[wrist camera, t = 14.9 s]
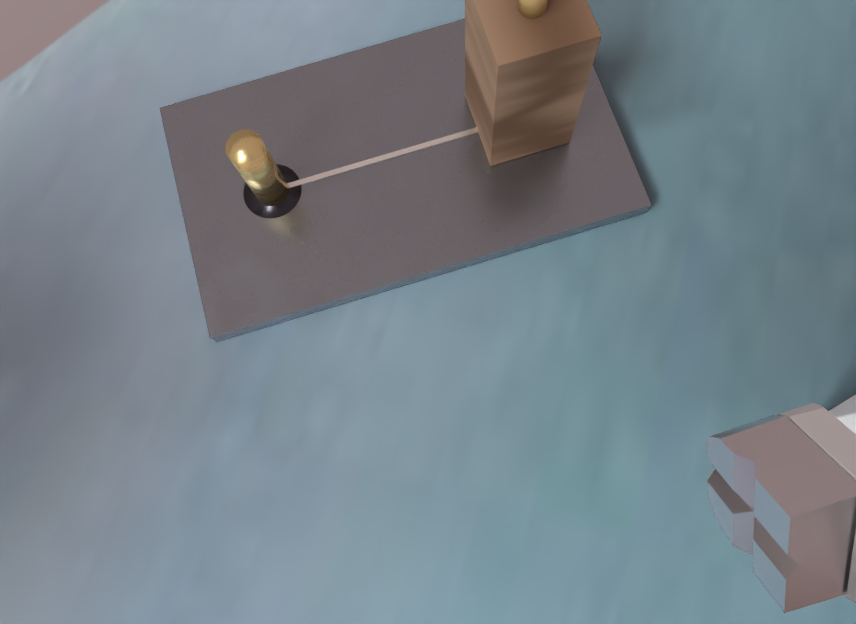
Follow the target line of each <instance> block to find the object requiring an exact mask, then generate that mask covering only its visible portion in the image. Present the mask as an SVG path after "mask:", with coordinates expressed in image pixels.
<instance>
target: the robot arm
mask: <svg viewBox="0 0 856 624" xmlns="http://www.w3.org/2000/svg"><path fill="white" fill-rule="evenodd" d="M706 448H707V459H708V460H709V461H710V462H711V464H712V465H713V466H714V467H715V470H714V471H713V473H712V474H711V476H710V477H709V479H708V480H707V487H708V499H709V502H710V505H711V508H712V511H713V514H714V517H715V519H716V520H717V522H718V524H719V526H720V528H721V529H722V531H723V533H724V534H725V535H726V537H727V538H728V539H729V541H730V542H731V544H732V545H733V546H734V547H737V548H739V549H741V550H743V551H745V552H748V553H750V554H752V555H753V573H754V574H755V575H756V577H757V578H758V579H759V581H760V582H761V583H762V585H763V586H764V587H765V589H766V590H767V591H768V592H769V594H770V595H771V596H772V598H773V599H774V600H775V602H776V603H777V604H778V606H779V607H780V608H781V609H782V611H783V612H784V613H786V612H789V611H793V610H796V609H799V608H802V607H806V606H809V605H812V604H816V603H819V602H822V601H825V600H829V599H832V598H835V597H838V596H842V595H845V594H847V596H846V598H848V599H849V600H851V601H853V602H855V603H856V434H855V433H854V432H852V431H851V430H850V429H849V428H848V427H846V426H845V425H844V424H843V423H842V422H841V421H839V420H838V419H837V418H836V417H835V416H833V415H832V414H831V413H830V412H829V411H827V410H826V409H825V408H824V407H823V406H821V405H818V404H815V403H810V404H807V405H804V406H801V407H798V408H795V409H792V410H788V411H785V412H782V413H779V414H778V415H772V416H769V417H766V418H763V419H760V420H757V421H754V422H751V423H748V424H745V425H742V426H739V427H736V428H733V429H730V430H727V431H724V432H721V433H718V434H715V435H712V436H710V437H709V440H708V442H707V444H706Z"/></svg>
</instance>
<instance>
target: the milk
mask: <svg viewBox="0 0 856 624" xmlns="http://www.w3.org/2000/svg"><path fill="white" fill-rule="evenodd" d="M829 412H830V413H831V414H832V415H833V416H835V417H836V418H837V419H838V420H839V421H841V422H842V423H843V424H844V425H845V426H846V427H848V428H849V429H850V430H851V431H852V432H854V433H855V434H856V394H855V395H854V396H852V397H851V398H849V399H847V400H846V401H844V402H842V403H841V404H839V405H838V406H836V407H834V408H833V409H831V410H829Z"/></svg>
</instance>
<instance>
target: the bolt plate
mask: <svg viewBox="0 0 856 624" xmlns="http://www.w3.org/2000/svg"><path fill="white" fill-rule="evenodd" d="M160 112H161V116H162V121H163V126H164V130H165V135H166V139H167V144H168V148H169V153H170V157H171V162H172V167H173V171H174V176H175V180H176V185H177V189H178V194H179V199H180V203H181V208H182V212H183V217H184V221H185V226H186V231H187V235H188V240H189V244H190V249H191V253H192V258H193V263H194V267H195V272H196V276H197V281H198V285H199V290H200V295H201V299H202V304H203V308H204V313H205V317H206V322H207V327H208V331H209V336H210V338H211V339H213V340H214V341H216V342H218V341H221V340H225V339H228V338H231V337H235V336H238V335H241V334H245V333H248V332H251V331H254V330H258V329H261V328H264V327H268V326H271V325H274V324H278V323H281V322H284V321H288V320H291V319H294V318H298V317H301V316H304V315H308V314H311V313H314V312H318V311H321V310H324V309H328V308H331V307H334V306H337V305H341V304H344V303H347V302H351V301H354V300H357V299H361V298H364V297H367V296H371V295H374V294H377V293H381V292H384V291H387V290H391V289H394V288H397V287H401V286H404V285H407V284H410V283H414V282H417V281H420V280H424V279H427V278H430V277H434V276H437V275H440V274H444V273H447V272H450V271H454V270H457V269H460V268H464V267H467V266H470V265H474V264H477V263H480V262H484V261H487V260H490V259H493V258H497V257H500V256H503V255H507V254H510V253H513V252H517V251H520V250H523V249H527V248H530V247H533V246H537V245H540V244H543V243H547V242H550V241H553V240H557V239H560V238H563V237H567V236H570V235H573V234H576V233H580V232H583V231H586V230H590V229H593V228H596V227H600V226H603V225H606V224H610V223H613V222H616V221H620V220H623V219H626V218H630V217H633V216H636V215H640V214H643V213H646V212H647V211H648V210H649V208H650V206H651V202H650V200H649V198H648V195H647V193H646V190H645V188H644V186H643V183H642V181H641V178H640V176H639V174H638V171H637V169H636V167H635V164H634V162H633V159H632V157H631V155H630V152H629V150H628V147H627V145H626V143H625V140H624V138H623V136H622V133H621V131H620V128H619V126H618V124H617V121H616V119H615V116H614V114H613V112H612V109H611V107H610V104H609V102H608V100H607V97H606V95H605V93H604V90H603V88H602V85H601V83H600V81H599V78H598V76H597V73H596V71H595V69H594V66H593V67H592V70H591V73H590V77H589V80H588V83H587V87H586V90H585V93H584V97H583V100H582V103H581V107H580V110H579V113H578V117H577V120H576V123H575V127H574V130H573V133H572V137H571V140H570V143H566V144H563V145H560V146H556V147H553V148H550V149H546V150H543V151H539V152H536V153H533V154H529V155H526V156H523V157H519V158H516V159H513V160H509V161H506V162H503V163H499V164H496V165H492V166H490V164H489V161H488V158H487V156H486V153H485V150H484V147H483V144H482V142H481V139H480V136H479V133H478V130H477V128H476V125H475V122H474V119H473V116H472V114H471V111H470V108H469V105H468V102H467V100H466V97H465V19H463V20H460V21H456V22H453V23H449V24H446V25H442V26H439V27H436V28H432V29H429V30H425V31H422V32H418V33H415V34H412V35H408V36H405V37H401V38H398V39H394V40H391V41H388V42H384V43H381V44H377V45H374V46H371V47H367V48H364V49H360V50H357V51H353V52H350V53H347V54H343V55H340V56H336V57H333V58H329V59H326V60H323V61H319V62H316V63H312V64H309V65H305V66H302V67H299V68H295V69H292V70H288V71H285V72H281V73H278V74H275V75H271V76H268V77H264V78H261V79H257V80H254V81H251V82H247V83H244V84H240V85H237V86H234V87H230V88H227V89H223V90H220V91H216V92H213V93H210V94H206V95H203V96H199V97H196V98H192V99H189V100H186V101H182V102H179V103H175V104H172V105H168V106H165V107H162V108H160Z"/></svg>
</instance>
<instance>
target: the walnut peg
mask: <svg viewBox="0 0 856 624" xmlns="http://www.w3.org/2000/svg"><path fill="white" fill-rule="evenodd" d="M601 37H602V35H601V33H600V30H599V28H598V26H597V23H596V21H595V19H594V16H593V14H592V12H591V9H590V7H589V5H588V2H587V0H465V97H466V100H467V102H468V105H469V108H470V111H471V114H472V116H473V119H474V122H475V125H476V128H477V130H478V133H479V136H480V139H481V142H482V144H483V147H484V150H485V153H486V156H487V158H488V161H489V164H490V166H492V165H496V164H499V163H503V162H506V161H509V160H513V159H516V158H519V157H523V156H526V155H529V154H533V153H536V152H539V151H543V150H546V149H550V148H553V147H556V146H560V145H563V144H566V143H570V140H571V137H572V133H573V130H574V127H575V123H576V120H577V117H578V113H579V110H580V107H581V103H582V100H583V97H584V93H585V90H586V87H587V83H588V80H589V77H590V73H591V70H592V67H593V63H594V60H595V57H596V53H597V50H598V47H599V43H600V40H601Z"/></svg>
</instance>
